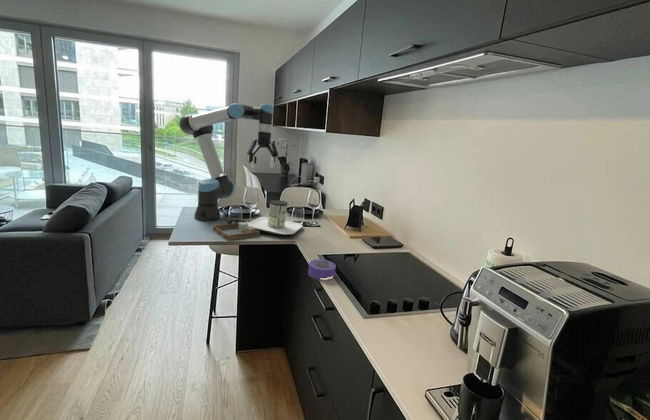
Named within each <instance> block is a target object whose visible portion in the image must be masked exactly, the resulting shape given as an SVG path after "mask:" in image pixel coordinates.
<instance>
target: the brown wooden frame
mask: <svg viewBox="0 0 650 420" xmlns="http://www.w3.org/2000/svg"><path fill="white" fill-rule="evenodd" d="M238 226H239V222H236V223H227V224H224V223H223V224H217V225H216V224H215V225H212V231H214V232H215V233H217V234H218V235H219V236H221V237H222V238H223V239H225V240H226V241H231V240H239V239H246V238H247V239H248V238H252V237H253V238H254V237H260V233H261V231H258V230H256V229H255V232H248V233H245V232H242V233H234V234H233V233H232V234H228V233H227V232H225V231H223V230H228V229H236V228H237V229H238Z"/></svg>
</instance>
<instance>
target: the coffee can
mask: <svg viewBox="0 0 650 420" xmlns="http://www.w3.org/2000/svg"><path fill="white" fill-rule="evenodd" d="M287 209H288V202H287V201H284V200H279V199H272V200H270V201H269V209H268V210H269V211H268V217H269V218H268V225H270V226H273V227H284V226H285V220H286V217H287V216H286V215H287Z"/></svg>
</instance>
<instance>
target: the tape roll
mask: <svg viewBox="0 0 650 420" xmlns="http://www.w3.org/2000/svg"><path fill="white" fill-rule="evenodd" d="M336 268H337V266H336V263H334V262H333V261H330V260H328V259H323V258H322V259H319V258H318V259H312V260H311V261H309V265H308V270H307V271H308V272H307V274H308V276H309V277H310V278H312V279H314V280H316V281H317V280H318V281H321V280H320V278H327V277H331V276H333V275H334V274H335V275H336Z"/></svg>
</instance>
